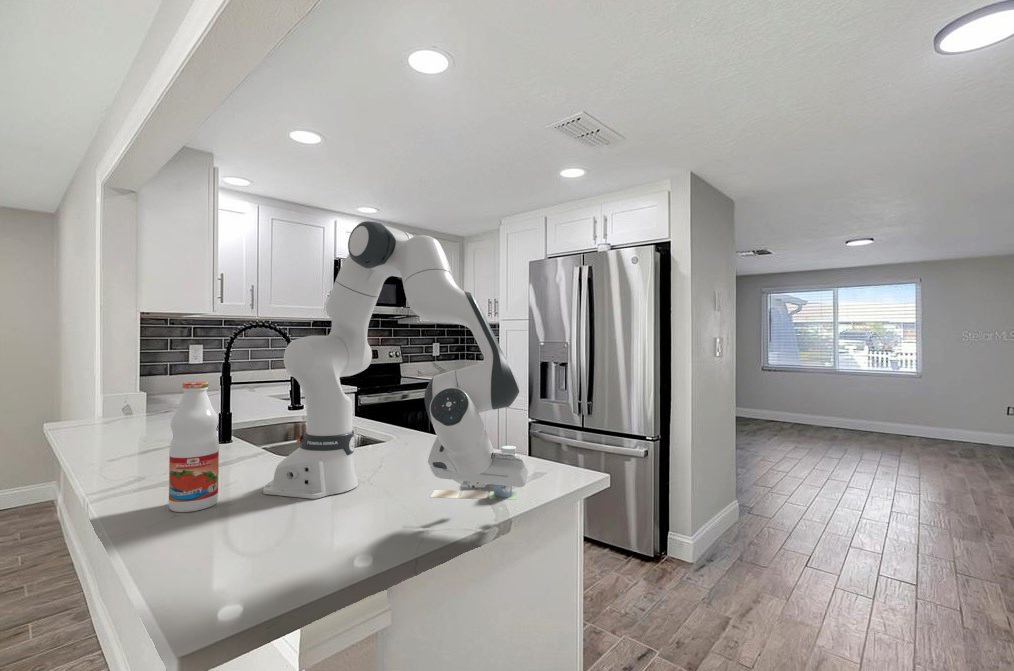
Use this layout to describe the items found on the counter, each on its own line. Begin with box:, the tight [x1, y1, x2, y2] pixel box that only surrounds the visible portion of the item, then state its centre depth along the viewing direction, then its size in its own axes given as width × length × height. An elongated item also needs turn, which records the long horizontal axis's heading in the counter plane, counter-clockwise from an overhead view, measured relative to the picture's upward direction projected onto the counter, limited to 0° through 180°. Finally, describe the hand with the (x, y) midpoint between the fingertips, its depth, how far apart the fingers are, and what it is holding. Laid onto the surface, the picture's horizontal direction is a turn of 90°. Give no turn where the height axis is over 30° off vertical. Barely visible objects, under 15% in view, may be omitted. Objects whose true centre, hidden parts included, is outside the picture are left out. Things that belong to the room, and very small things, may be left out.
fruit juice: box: [168, 381, 220, 513], centre depth 108 cm, size 9×9×28 cm
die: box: [469, 482, 486, 489], centre depth 123 cm, size 4×4×4 cm
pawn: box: [493, 484, 513, 498], centre depth 115 cm, size 4×4×8 cm
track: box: [430, 489, 518, 500], centre depth 116 cm, size 22×6×1 cm, turn 88°
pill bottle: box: [500, 445, 517, 455], centre depth 126 cm, size 5×5×10 cm
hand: (486, 486), depth 104 cm, fingers open, 8 cm apart
